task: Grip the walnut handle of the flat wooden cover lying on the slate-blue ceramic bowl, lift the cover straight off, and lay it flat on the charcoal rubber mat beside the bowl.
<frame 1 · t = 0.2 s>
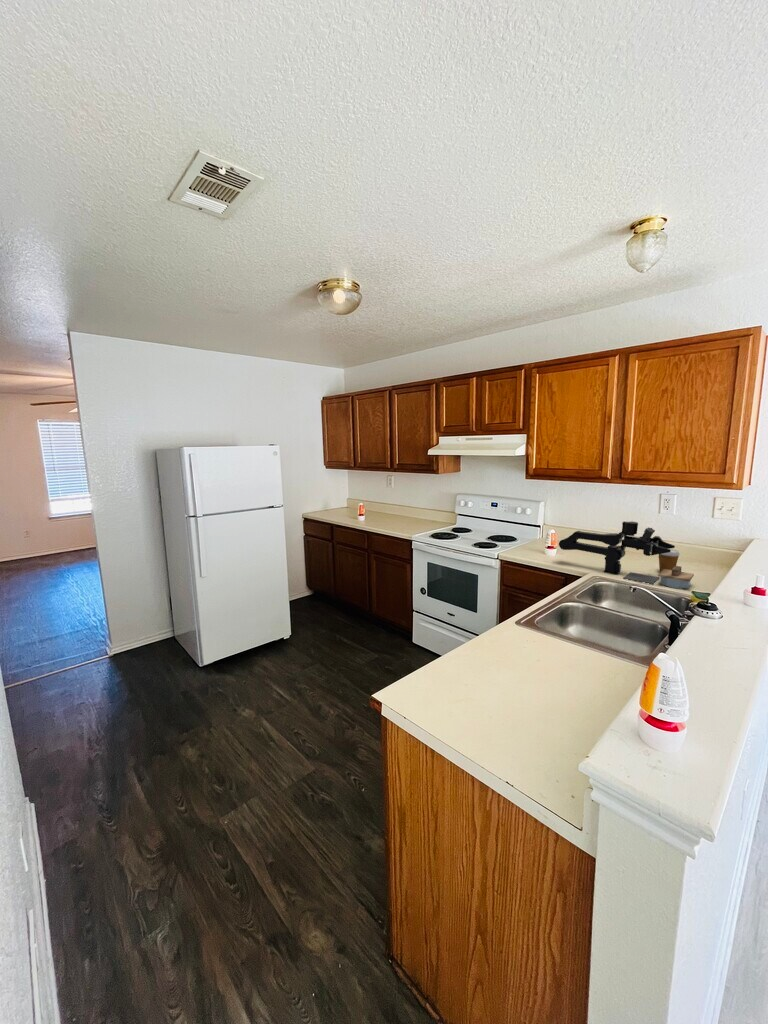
hand: (672, 548, 199), 17 cm above the counter, tool horizontal, fingers open, 9 cm apart
mat: (641, 578, 208), on the counter
disposable coffee cup: (666, 573, 217), on the counter
bowl: (674, 585, 198), on the counter, touching cover
cover: (675, 576, 198), point 4 cm above the counter, touching bowl
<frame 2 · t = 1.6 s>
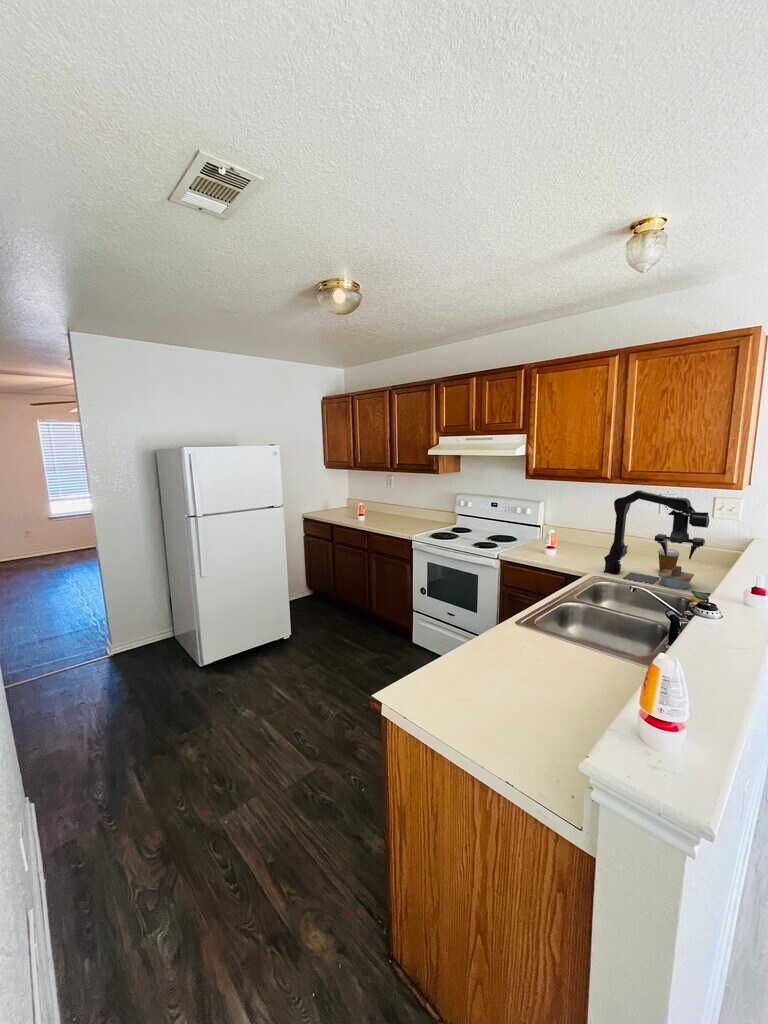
hand: (677, 557, 196), 13 cm above the counter, tool pointing down, fingers open, 9 cm apart
nothing on the counter moved.
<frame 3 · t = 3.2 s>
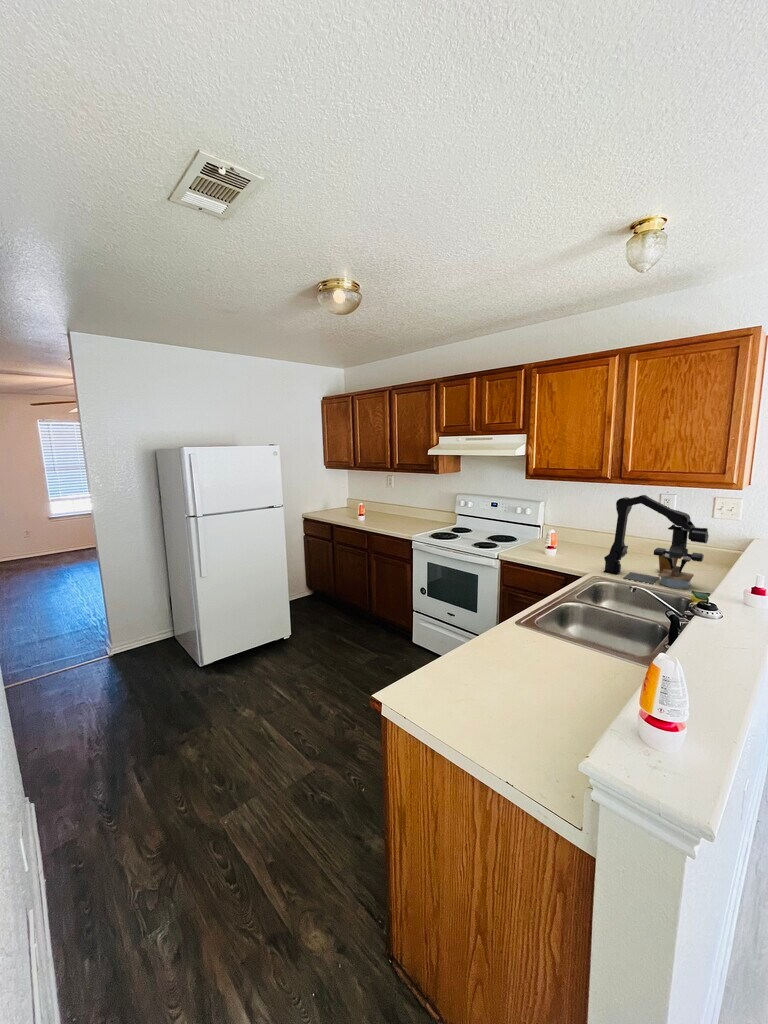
hand: (676, 572, 197), 6 cm above the counter, tool pointing down, fingers closed on cover, 2 cm apart
cover: (675, 576, 198), point 4 cm above the counter, touching bowl, gripper
everything else where it was.
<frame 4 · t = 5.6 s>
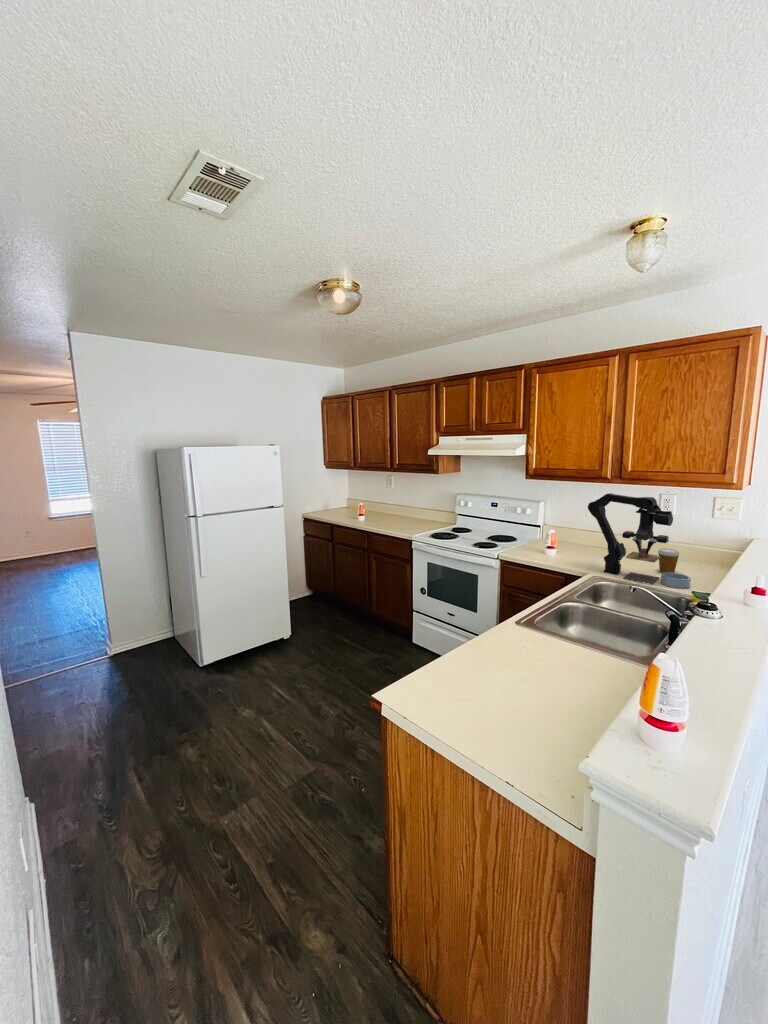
hand: (643, 553, 206), 13 cm above the counter, tool pointing down, fingers closed on cover, 2 cm apart
bowl: (674, 585, 198), on the counter
cover: (643, 557, 206), point 11 cm above the counter, touching gripper
everything else where it was.
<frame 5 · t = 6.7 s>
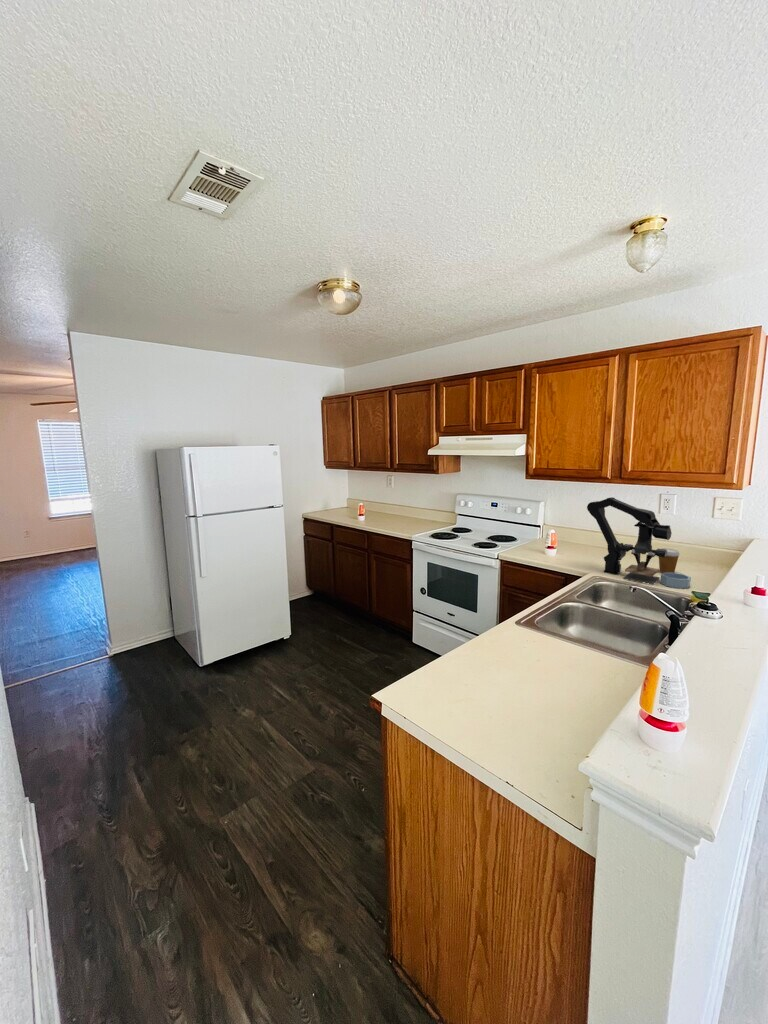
hand: (642, 567, 207), 6 cm above the counter, tool pointing down, fingers closed on cover, 2 cm apart
cover: (641, 571, 207), point 4 cm above the counter, touching gripper
everything else where it was.
when the fingers open (4 cm above the counter, at t = 7.8 s): cover drops 1 cm, resting on mat.
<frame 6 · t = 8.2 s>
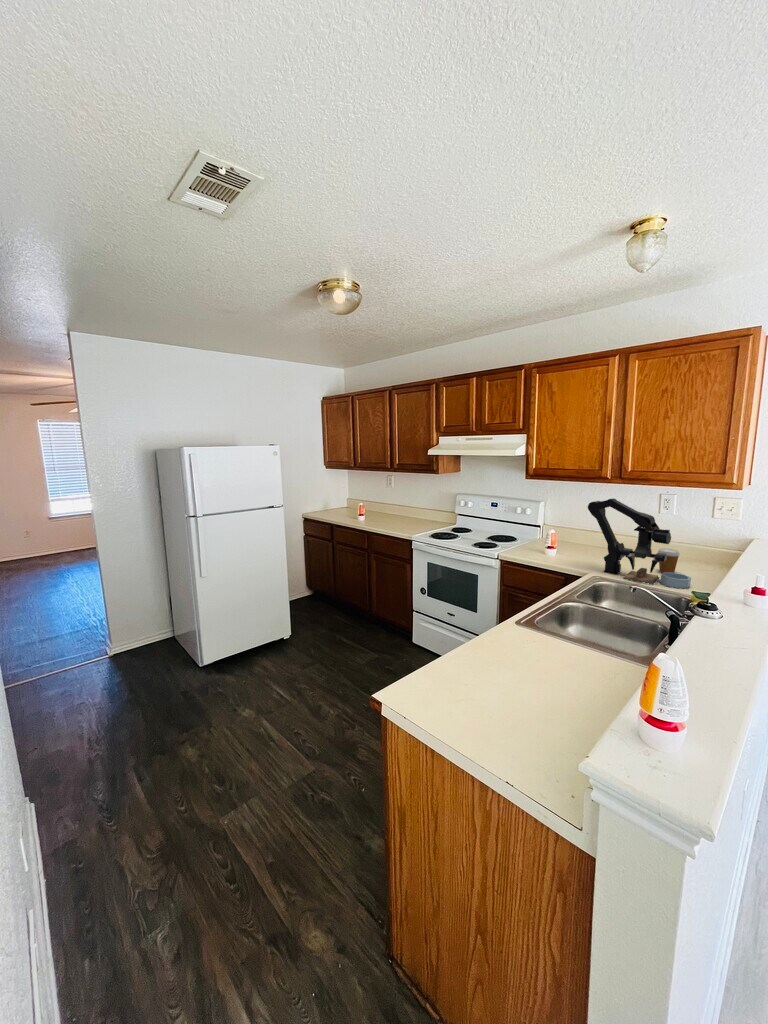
hand: (641, 571, 207), 4 cm above the counter, tool pointing down, fingers open, 7 cm apart
cover: (641, 577, 208), point 1 cm above the counter, touching mat
everything else where it was.
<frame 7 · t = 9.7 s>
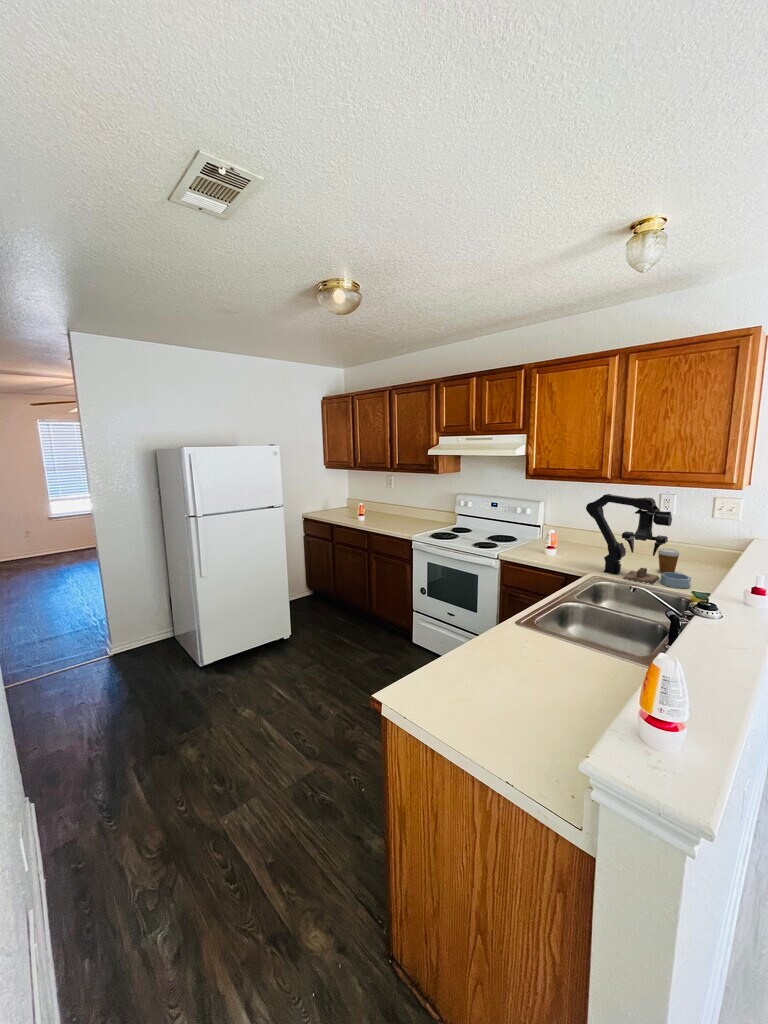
hand: (642, 554, 207), 12 cm above the counter, tool pointing down, fingers open, 9 cm apart
nothing on the counter moved.
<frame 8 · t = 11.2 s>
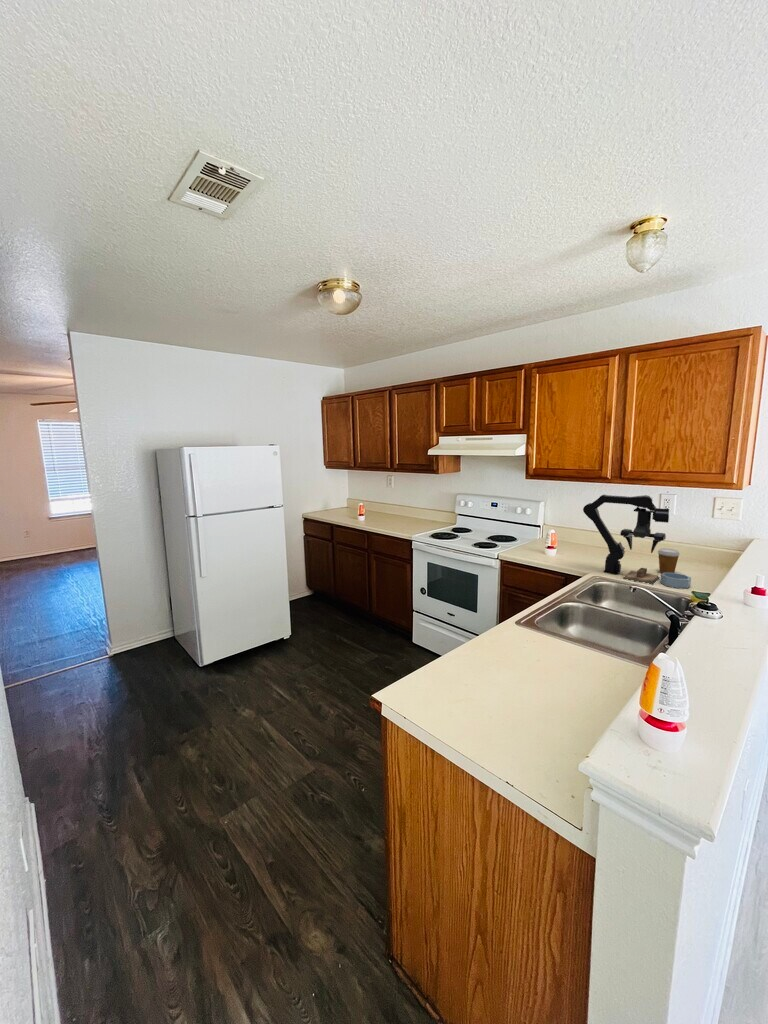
hand: (641, 551, 210), 13 cm above the counter, tool pointing down, fingers open, 9 cm apart
nothing on the counter moved.
at the end: cover inside the target area on the mat (0.0 cm from its centre), point 0.6 cm above the mat's base; the gripper is holding nothing; bowl moved 0.1 cm from its start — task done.
